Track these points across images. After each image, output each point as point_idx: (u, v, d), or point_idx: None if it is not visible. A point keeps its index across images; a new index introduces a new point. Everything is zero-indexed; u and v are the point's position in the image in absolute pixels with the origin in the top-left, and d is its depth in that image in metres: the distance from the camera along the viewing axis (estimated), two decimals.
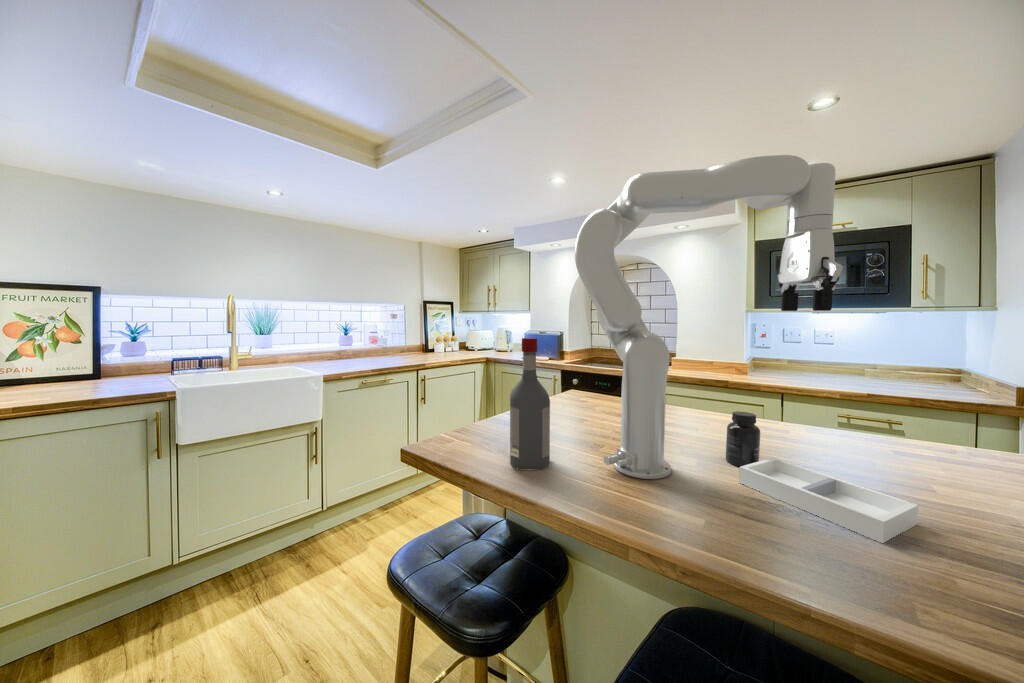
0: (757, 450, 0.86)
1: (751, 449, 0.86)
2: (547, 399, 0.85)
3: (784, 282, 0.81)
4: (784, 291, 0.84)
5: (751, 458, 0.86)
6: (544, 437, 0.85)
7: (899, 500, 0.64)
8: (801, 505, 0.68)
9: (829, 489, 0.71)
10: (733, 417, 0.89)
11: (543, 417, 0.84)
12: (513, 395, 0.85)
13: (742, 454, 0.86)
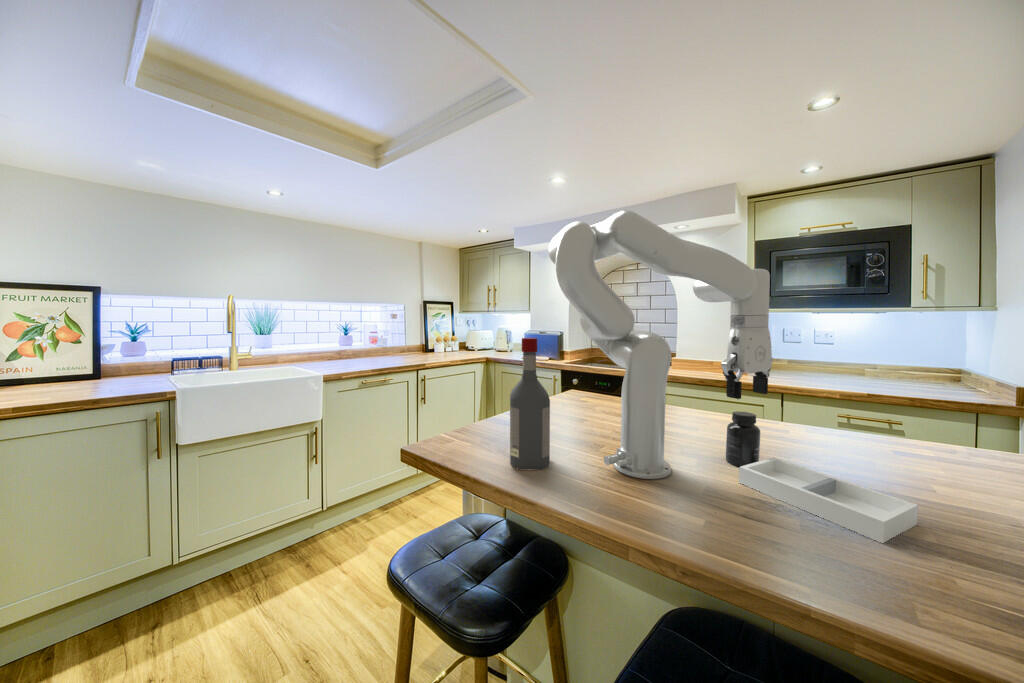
0: (757, 450, 0.86)
1: (751, 449, 0.86)
2: (547, 399, 0.85)
3: (752, 372, 0.84)
4: None
5: (751, 458, 0.86)
6: (544, 437, 0.85)
7: (899, 500, 0.64)
8: (801, 505, 0.68)
9: (829, 489, 0.71)
10: (733, 417, 0.89)
11: (543, 417, 0.84)
12: (513, 395, 0.85)
13: (742, 454, 0.86)
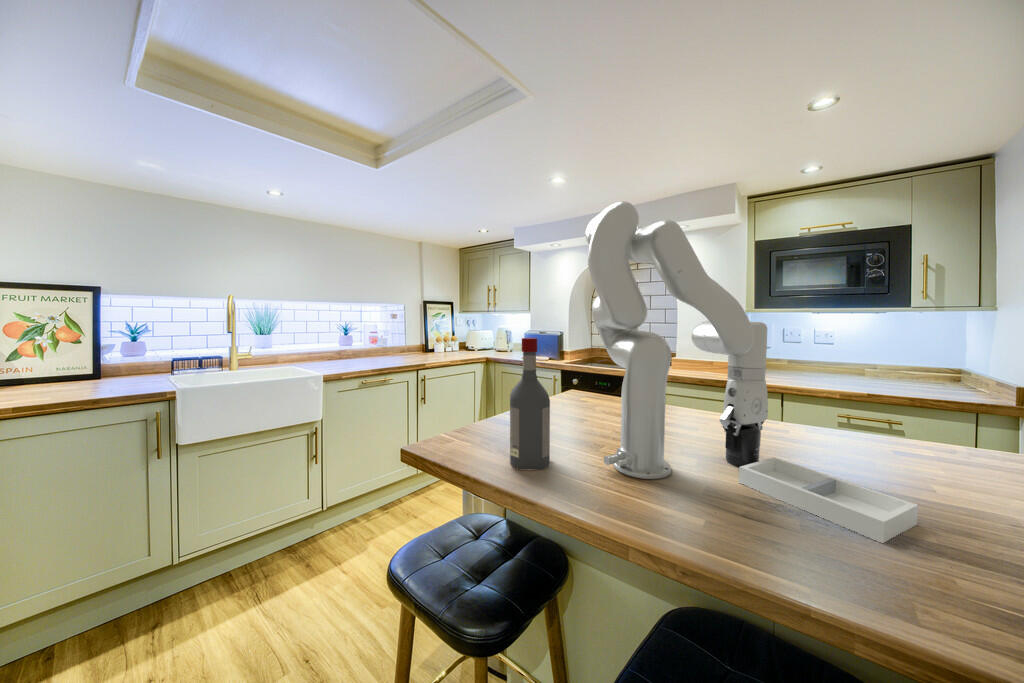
0: (757, 450, 0.86)
1: (751, 449, 0.86)
2: (547, 399, 0.85)
3: (748, 423, 0.85)
4: None
5: (751, 458, 0.86)
6: (544, 437, 0.85)
7: (899, 500, 0.64)
8: (801, 505, 0.68)
9: (829, 489, 0.71)
10: None
11: (543, 417, 0.84)
12: (513, 395, 0.85)
13: (742, 454, 0.86)
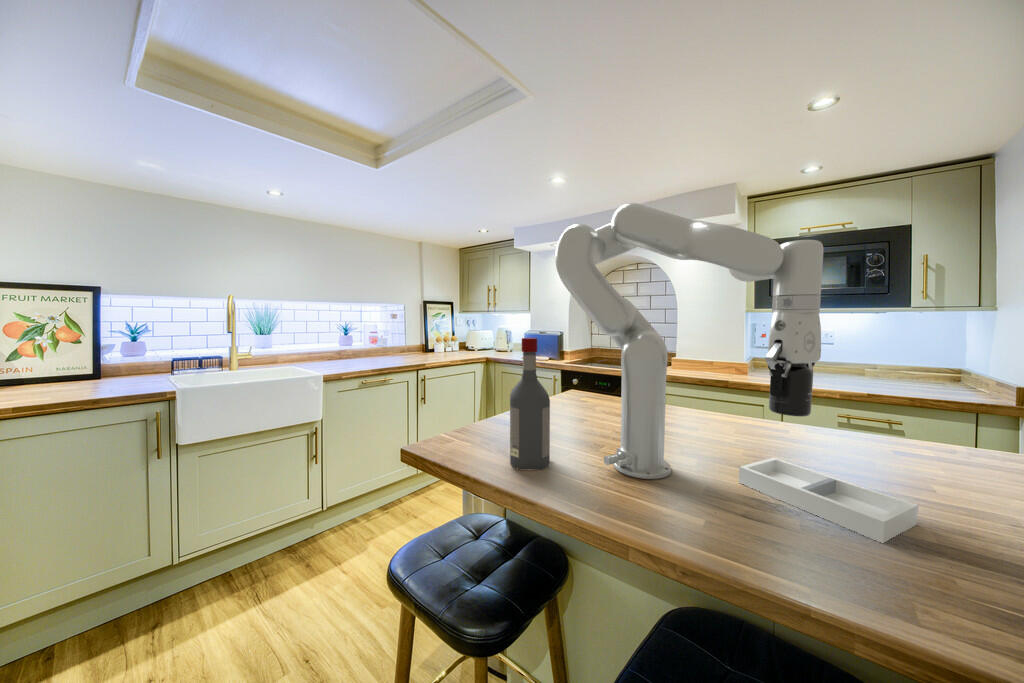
0: (810, 395, 0.72)
1: (802, 393, 0.71)
2: (547, 399, 0.85)
3: (799, 362, 0.71)
4: None
5: (803, 405, 0.71)
6: (544, 437, 0.85)
7: (899, 500, 0.64)
8: (801, 505, 0.68)
9: (829, 489, 0.71)
10: None
11: (543, 417, 0.84)
12: (513, 395, 0.85)
13: (791, 400, 0.72)
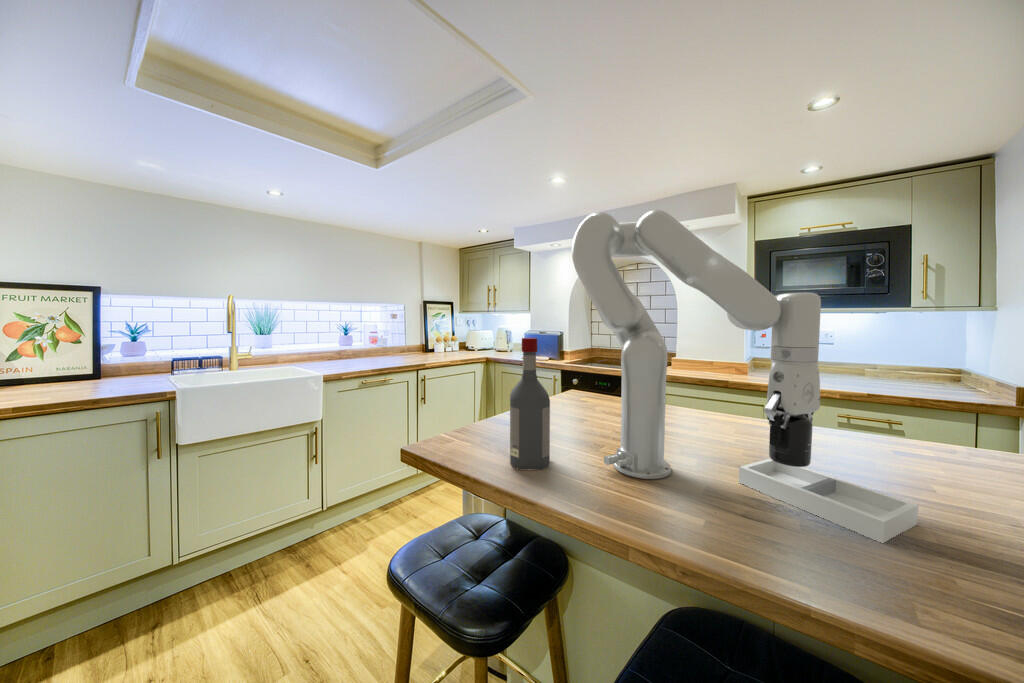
0: (809, 446, 0.72)
1: (802, 444, 0.72)
2: (547, 399, 0.85)
3: (798, 414, 0.71)
4: None
5: (803, 456, 0.72)
6: (544, 437, 0.85)
7: (899, 500, 0.64)
8: (801, 505, 0.68)
9: (829, 489, 0.71)
10: None
11: (543, 417, 0.84)
12: (513, 395, 0.85)
13: (791, 450, 0.72)
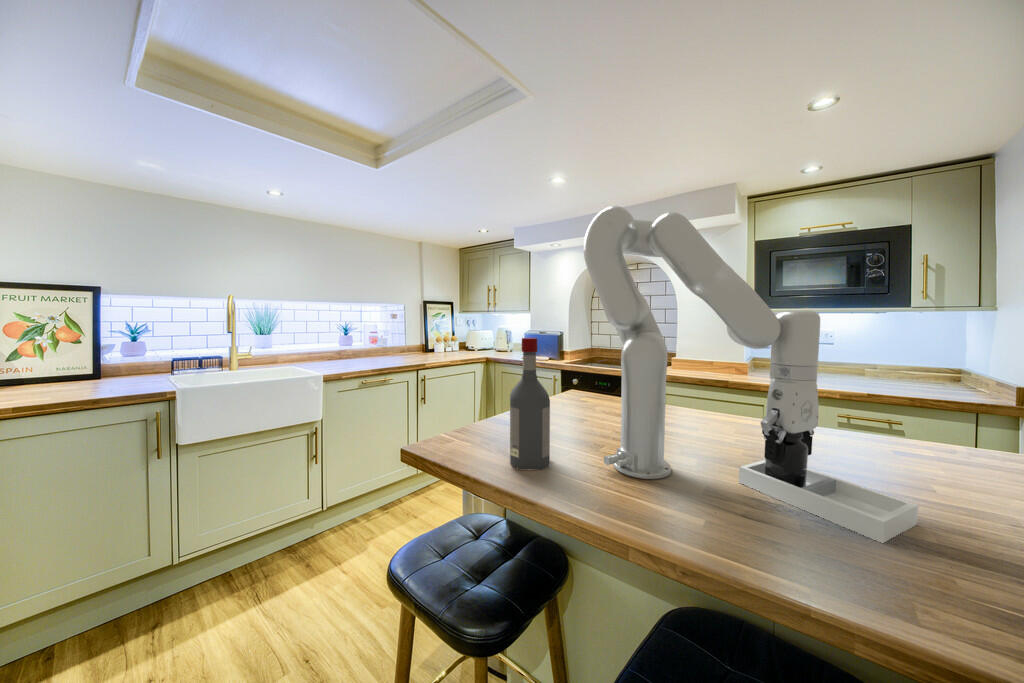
0: (805, 470, 0.73)
1: (797, 469, 0.72)
2: (547, 399, 0.85)
3: (796, 432, 0.71)
4: None
5: (798, 480, 0.72)
6: (544, 437, 0.85)
7: (899, 500, 0.64)
8: (801, 505, 0.68)
9: (829, 489, 0.71)
10: (775, 431, 0.75)
11: (543, 417, 0.84)
12: (513, 395, 0.85)
13: (786, 475, 0.73)
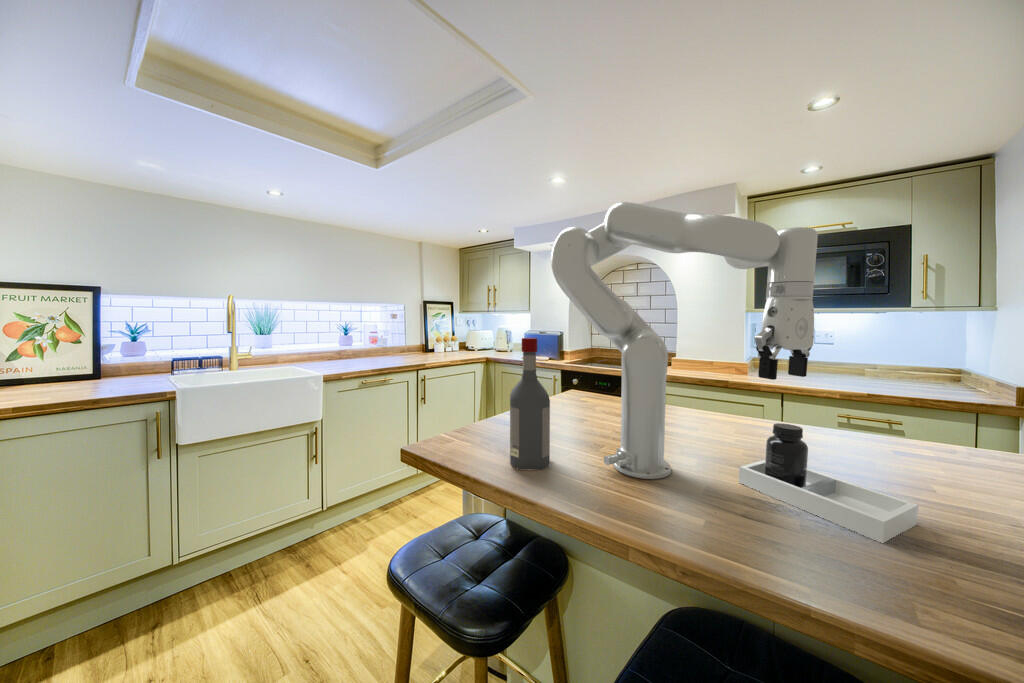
0: (805, 470, 0.73)
1: (798, 468, 0.72)
2: (547, 399, 0.85)
3: (791, 348, 0.72)
4: None
5: (798, 480, 0.72)
6: (544, 437, 0.85)
7: (899, 500, 0.64)
8: (801, 505, 0.68)
9: (829, 489, 0.71)
10: (775, 430, 0.75)
11: (543, 417, 0.84)
12: (513, 395, 0.85)
13: (787, 474, 0.73)
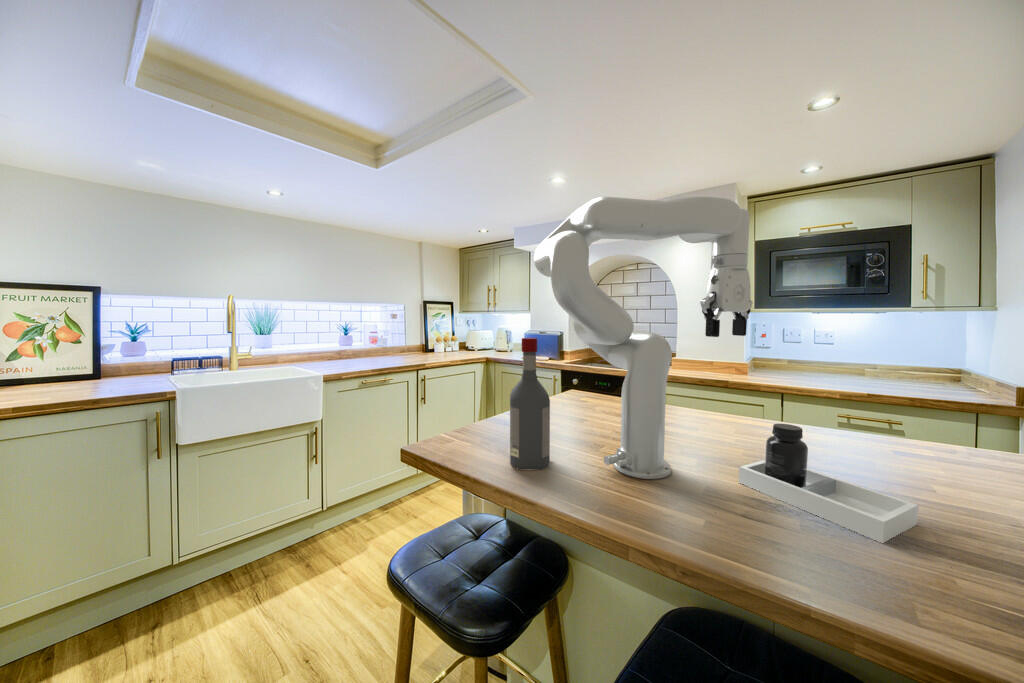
0: (805, 470, 0.73)
1: (798, 469, 0.72)
2: (547, 399, 0.85)
3: (730, 310, 0.86)
4: None
5: (798, 480, 0.72)
6: (544, 437, 0.85)
7: (899, 500, 0.64)
8: (801, 505, 0.68)
9: (829, 489, 0.71)
10: (775, 431, 0.75)
11: (543, 417, 0.84)
12: (513, 395, 0.85)
13: (787, 475, 0.73)
